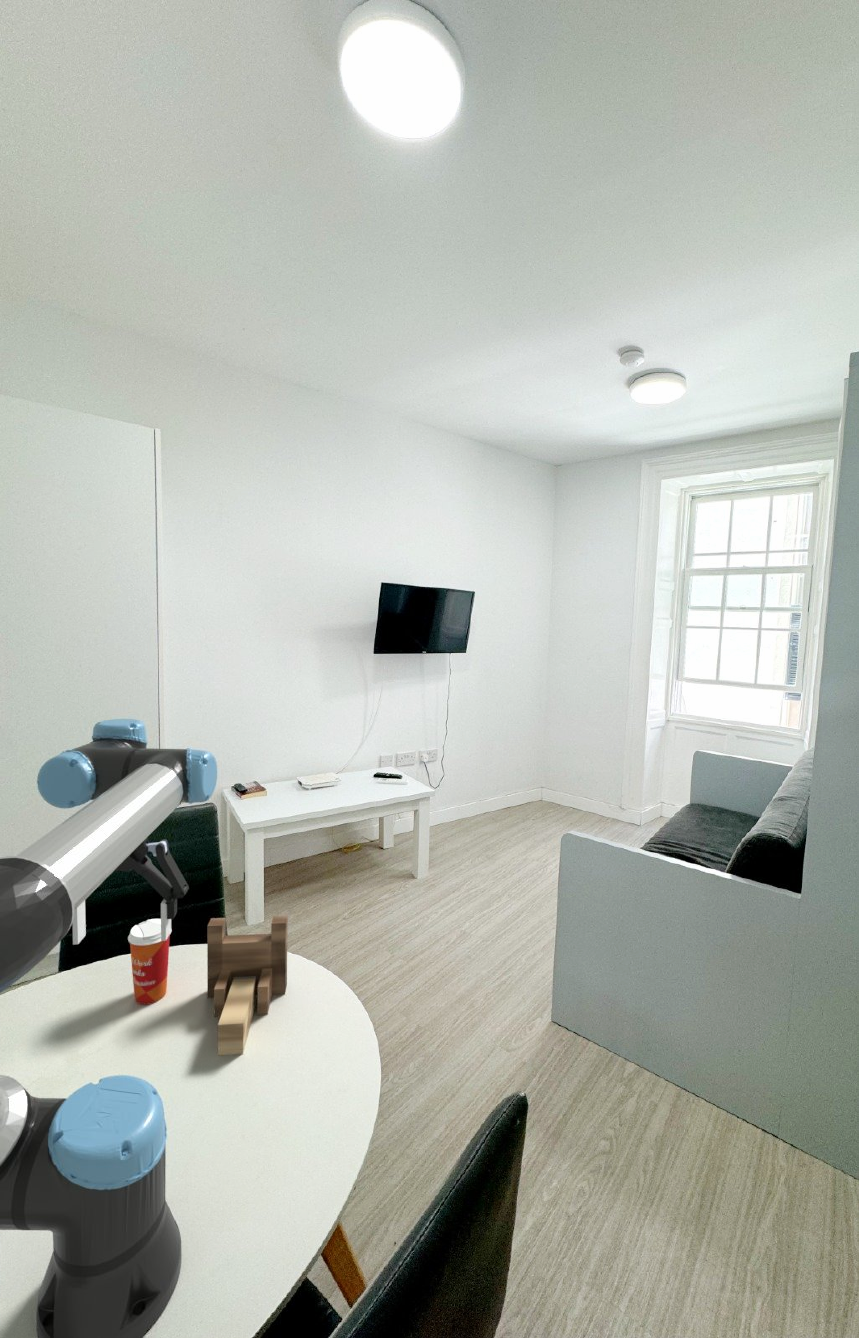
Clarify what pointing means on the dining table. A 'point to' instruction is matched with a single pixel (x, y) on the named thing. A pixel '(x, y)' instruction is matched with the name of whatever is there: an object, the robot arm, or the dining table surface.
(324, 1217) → the dining table surface
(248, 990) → the tan wooden block
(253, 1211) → the dining table surface
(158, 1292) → the robot arm
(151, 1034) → the dining table surface
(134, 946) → the coffee cup
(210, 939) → the brown notched piece
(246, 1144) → the dining table surface
